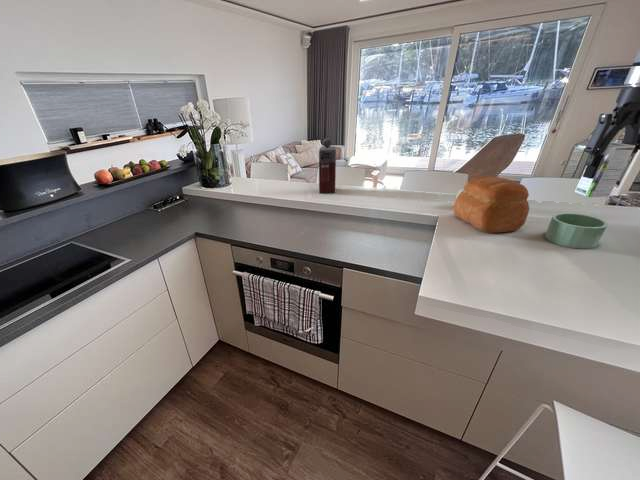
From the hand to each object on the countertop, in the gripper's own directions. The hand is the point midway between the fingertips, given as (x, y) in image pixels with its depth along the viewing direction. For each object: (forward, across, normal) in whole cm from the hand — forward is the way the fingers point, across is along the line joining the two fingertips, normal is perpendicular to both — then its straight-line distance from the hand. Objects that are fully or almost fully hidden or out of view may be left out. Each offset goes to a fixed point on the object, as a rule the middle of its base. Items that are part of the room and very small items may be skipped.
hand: (599, 176), depth 85 cm
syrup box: (+6, 0, 0) cm, 6 cm away
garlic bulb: (+21, +15, -37) cm, 45 cm away
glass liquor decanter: (+21, +72, -74) cm, 105 cm away
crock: (+21, 0, 0) cm, 21 cm away
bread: (+21, +17, -18) cm, 32 cm away
